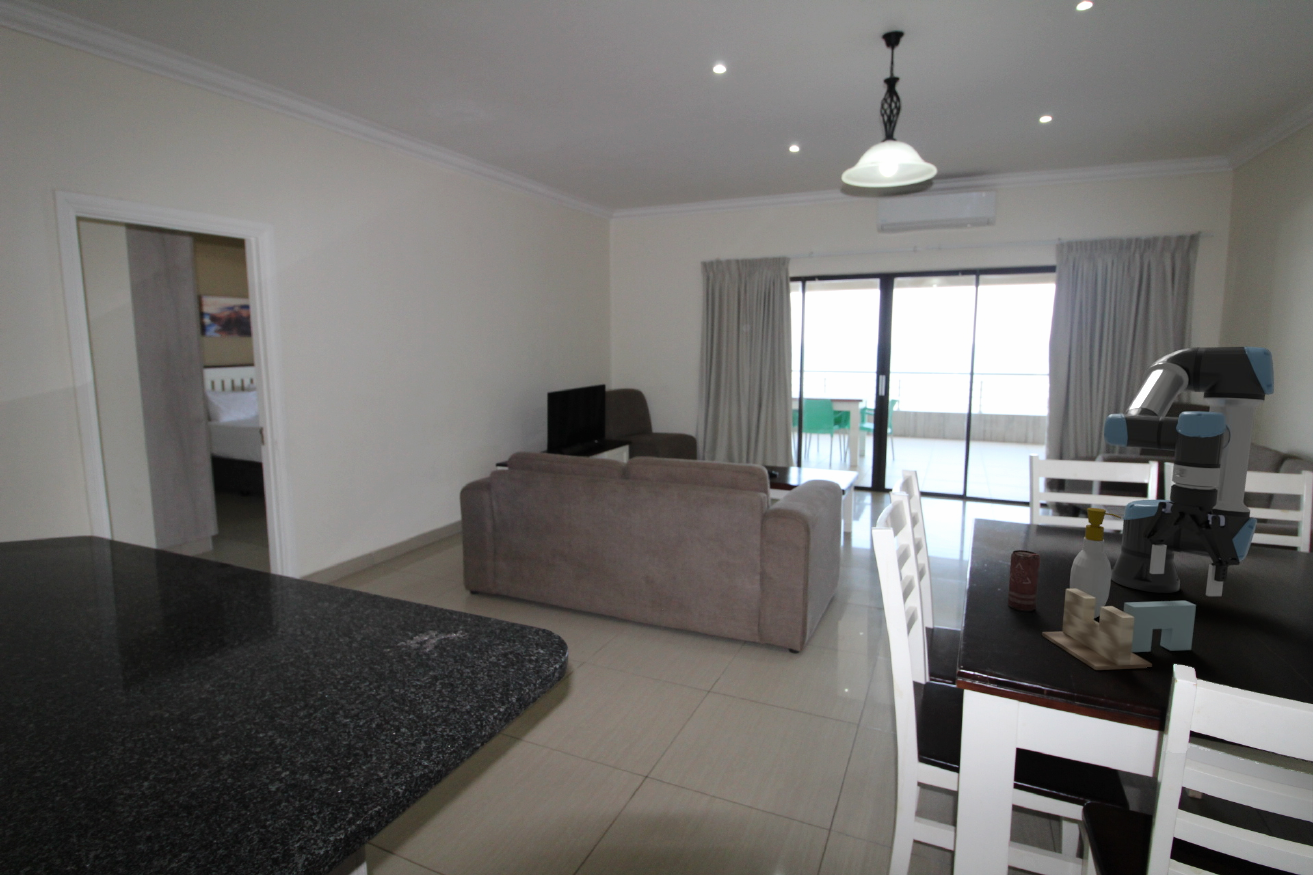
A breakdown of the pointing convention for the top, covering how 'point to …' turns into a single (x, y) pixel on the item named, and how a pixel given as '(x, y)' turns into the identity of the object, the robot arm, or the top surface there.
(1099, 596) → the soap bottle
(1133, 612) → the pale blue tunnel block
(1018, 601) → the can
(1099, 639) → the birch jig
